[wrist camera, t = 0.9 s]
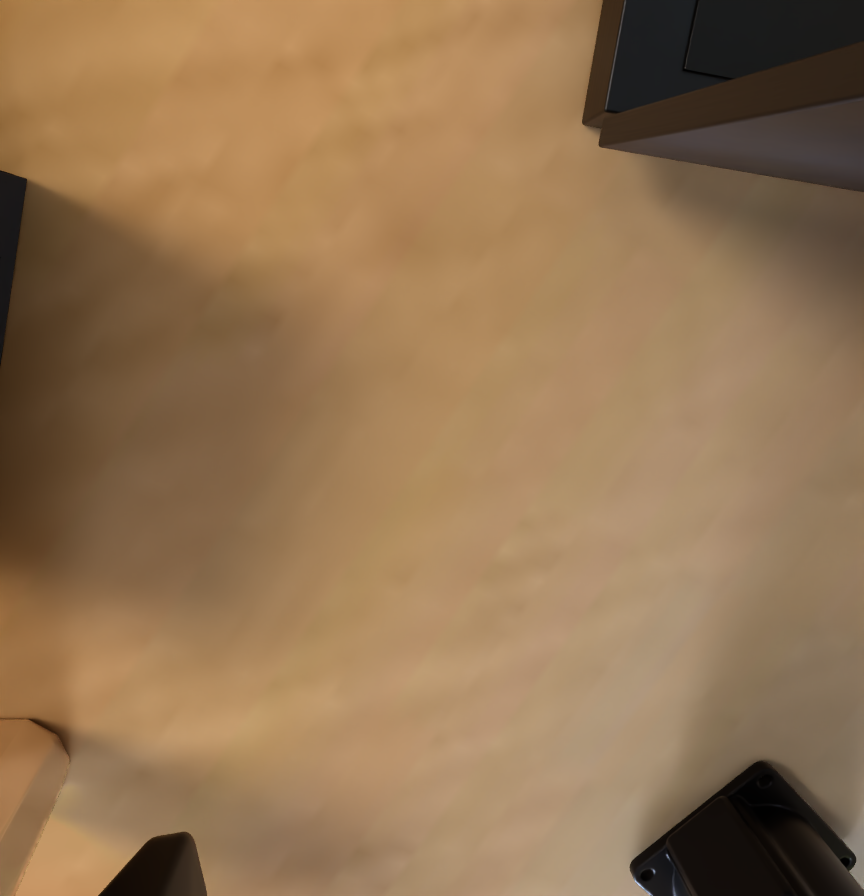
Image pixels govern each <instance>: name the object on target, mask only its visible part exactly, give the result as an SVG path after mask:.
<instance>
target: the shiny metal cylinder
mask: <svg viewBox="0 0 864 896" xmlns="http://www.w3.org/2000/svg"><path fill="white" fill-rule="evenodd" d="M69 764H70V759H69V757H68V755H67V753H66V751H65V749H64V747H63V745H62V743H61V741H60V739H59V737H58V735H57V734H55V733H53V732H51V731H49V730H47V729H45V728H44V727H42V726H40V725H38V724H36V723H34V722H32V721H31V720H29V719H11V720H0V896H15V895H16V893H17V891H18V889H19V886H20V884H21V882H22V879H23V877H24V875H25V872H26V870H27V868H28V866H29V863H30V861H31V859H32V856H33V854H34V852H35V849H36V847H37V845H38V843H39V840H40V838H41V836H42V833H43V831H44V829H45V827H46V824H47V822H48V820H49V817H50V815H51V813H52V810H53V808H54V806H55V804H56V801H57V799H58V797H59V794H60V792H61V789H62V787H63V783H64V780H65V777H66V773H67V770H68V767H69Z"/></svg>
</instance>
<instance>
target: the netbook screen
mask: <svg viewBox="0 0 864 896" xmlns="http://www.w3.org/2000/svg"><path fill="white" fill-rule="evenodd" d="M599 146H600V147H602V148H608V149H614V150H619V151H625V152H631V153H637V154H643V155H649V156H655V157H660V158H666V159H672V160H678V161H684V162H690V163H696V164H701V165H707V166H713V167H719V168H725V169H731V170H737V171H742V172H748V173H754V174H760V175H766V176H772V177H778V178H784V179H789V180H795V181H801V182H807V183H813V184H819V185H825V186H830V187H836V188H842V189H848V190H854V191H860V192H864V41H860V42H857V43H854V44H850V45H847V46H844V47H840V48H837V49H833V50H830V51H827V52H823V53H820V54H816V55H813V56H810V57H806V58H803V59H800V60H796V61H793V62H789V63H786V64H783V65H779V66H776V67H772V68H769V69H766V70H762V71H759V72H756V73H752V74H749V75H745V76H742V77H739V78H735V79H732V80H729V81H725V82H722V83H718V84H715V85H712V86H708V87H705V88H701V89H698V90H695V91H691V92H688V93H685V94H681V95H678V96H674V97H671V98H668V99H664V100H661V101H657V102H654V103H651V104H647V105H644V106H641V107H637V108H634V109H630V110H627V111H624V112H620V113H617V114H613V115H610V116H607V117H605V118H604V120H603V125H602V130H601V134H600V139H599Z"/></svg>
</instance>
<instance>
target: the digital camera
mask: <svg viewBox="0 0 864 896" xmlns="http://www.w3.org/2000/svg"><path fill="white" fill-rule="evenodd" d="M26 182H27V179H26V178H22V177H19V176H16V175H13V174H10V173H7V172H4V171H0V364H1V357H2V350H3V343H4V336H5V329H6V322H7V315H8V308H9V301H10V294H11V287H12V280H13V273H14V266H15V259H16V252H17V245H18V238H19V231H20V224H21V217H22V210H23V203H24V196H25V189H26Z"/></svg>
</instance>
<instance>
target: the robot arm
mask: <svg viewBox="0 0 864 896" xmlns="http://www.w3.org/2000/svg"><path fill="white" fill-rule="evenodd" d="M762 776H763V777H762ZM761 777H762V778H761ZM855 863H856V857H855V855H854V853H853V852H852V851H851V850H850V849H849V848H848V846H847V845H846V844H845V843H844V842H843V841H842V840H841V839H840V838H839V837H838V836H837V835H836V834H835V832H834V831H833V830H832V829H831V828H830V827H829V826H828V825H827V824H826V823H825V822H824V821H823V820H822V819H821V818H820V817H819V816H818V814H817V813H816V812H815V811H814V810H813V809H812V808H811V807H810V806H809V805H808V804H807V803H806V802H805V801H804V800H803V799H802V797H801V796H800V795H799V794H798V793H797V792H796V791H795V790H794V789H793V788H792V787H791V786H790V785H789V784H788V783H787V782H786V781H785V779H784V778H783V777H782V776H781V775H780V774H779V773H778V772H777V771H776V770H775V769H774V768H773V767H772V766H771V765H770V764H769V763H767V762H764V761H760V762H756V763H754V764H753V765H751V766H750V767H749V768H747V769H746V770H745V771H744V772H742V773H741V774H740V775H739V776H737V777H736V778H735V779H734V780H732V781H731V782H730V783H729V784H727V785H726V786H725V787H724V788H722V789H721V790H720V791H719V792H717V793H716V794H715V795H713V796H712V797H711V798H710V799H708V800H707V801H706V802H705V803H703V804H702V805H701V806H700V807H698V808H697V809H696V810H695V811H693V812H692V813H691V814H690V815H688V816H687V817H686V818H685V819H683V820H682V821H681V822H680V823H678V824H677V825H676V826H675V827H673V828H672V829H671V830H670V831H668V832H667V833H666V834H665V835H663V836H662V837H661V838H660V839H658V840H657V841H656V842H655V843H653V844H652V845H651V846H650V847H648V848H647V849H646V850H645V851H643V852H642V853H641V854H640V855H638V856H637V857H636V858H635V859H634V860H633V861H632V862H631V864H630V871H631V874H632V876H633V878H634V880H635V882H636V883H637V884H638V885H639V886H640V887H641V888H643V889H644V890H645V891H646V892H647V893H648V894H649V895H650V896H864V890H863V889H862V887H861V886H860V885H859V884H858V882H857V881H856V880H855V879H854V878H853V876H852V875H851V874H850V873H849V871H850V870H851V869H852V868H853V867H854V865H855ZM98 896H207V891H206V886H205V882H204V878H203V874H202V870H201V866H200V862H199V857H198V853H197V849H196V845H195V842H194V839H193V837H192V836H191V834H189V833H187V832H179V833H173V834H167V835H161V836H156V837H153V838H151V839H150V840H149V841H147V842H146V843H145V844H144V845H143V847H142V848H141V849H140V850H139V851H138V852H137V853H136V854H135V855H134V857H133V858H132V859H131V860H130V861H129V862H128V863H127V864H126V865H125V867H124V868H123V869H122V870H121V871H120V872H119V873H118V874H117V875H116V877H115V878H114V879H113V880H112V881H111V882H110V883H109V884H108V885H107V887H106V888H105V889H104V890H103V891H102V892H101V893H100V894H99V895H98Z"/></svg>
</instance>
